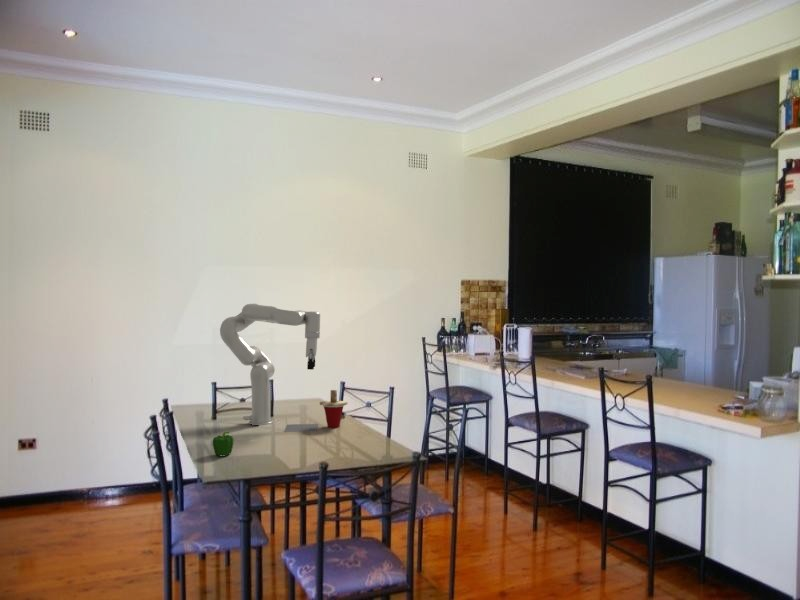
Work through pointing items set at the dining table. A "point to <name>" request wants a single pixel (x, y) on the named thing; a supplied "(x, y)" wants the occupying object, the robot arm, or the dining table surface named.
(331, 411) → the plastic cup
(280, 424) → the dining table surface
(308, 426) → the mat
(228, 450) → the bell pepper
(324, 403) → the lid
